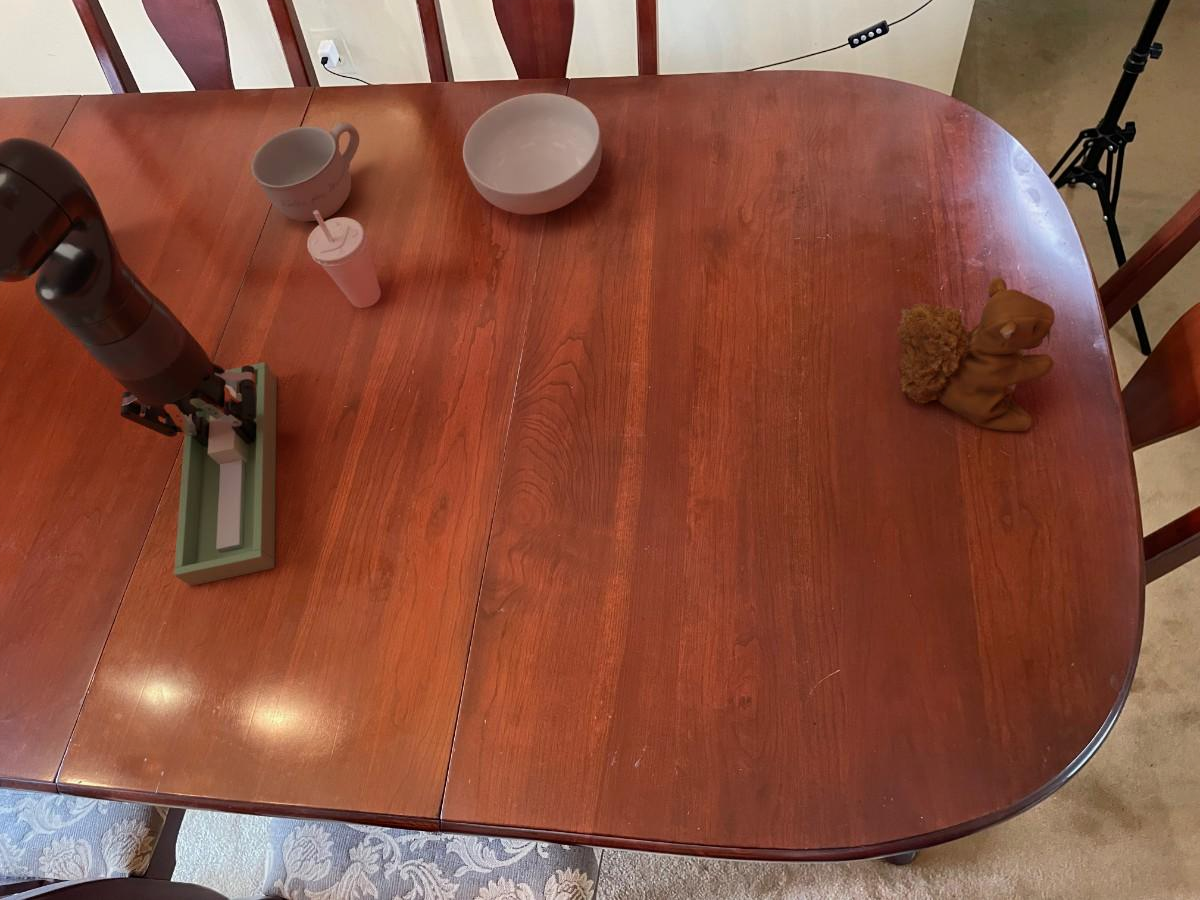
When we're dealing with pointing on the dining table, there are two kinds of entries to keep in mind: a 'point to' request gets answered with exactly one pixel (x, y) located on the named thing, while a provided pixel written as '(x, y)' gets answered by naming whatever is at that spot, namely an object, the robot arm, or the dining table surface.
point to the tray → (202, 495)
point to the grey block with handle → (229, 480)
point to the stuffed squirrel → (976, 356)
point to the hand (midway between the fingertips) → (233, 439)
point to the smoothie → (345, 258)
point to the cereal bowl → (533, 152)
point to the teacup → (306, 170)
